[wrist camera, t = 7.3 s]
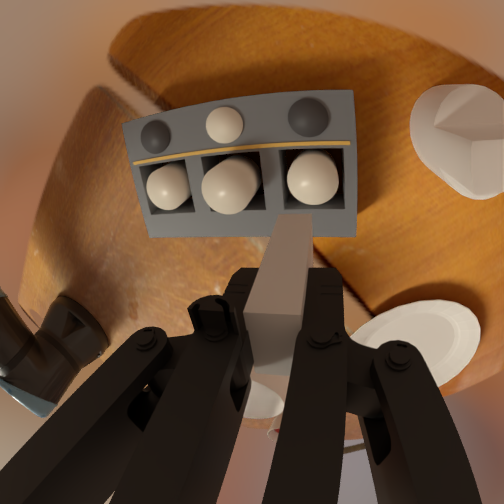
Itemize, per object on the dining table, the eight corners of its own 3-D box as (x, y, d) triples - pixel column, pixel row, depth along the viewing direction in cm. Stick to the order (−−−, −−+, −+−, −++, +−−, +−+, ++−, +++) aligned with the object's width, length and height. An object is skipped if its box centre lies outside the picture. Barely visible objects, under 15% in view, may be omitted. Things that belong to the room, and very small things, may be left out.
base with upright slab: (479, 84, 16) (560, 92, 6) (490, 173, 20) (561, 226, 10) (399, 87, 19) (458, 83, 9) (417, 182, 23) (470, 245, 13)
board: (167, 221, 31) (148, 238, 28) (144, 118, 26) (120, 124, 22) (352, 218, 26) (356, 238, 23) (348, 91, 20) (353, 89, 17)
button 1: (170, 197, 29) (152, 211, 26) (162, 161, 27) (142, 171, 24) (204, 194, 28) (188, 209, 25) (196, 156, 26) (179, 166, 23)
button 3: (294, 190, 26) (289, 205, 23) (290, 148, 24) (284, 156, 21) (337, 190, 25) (339, 204, 22) (335, 147, 23) (337, 155, 20)
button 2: (221, 199, 26) (206, 215, 23) (214, 157, 24) (197, 167, 21) (263, 197, 25) (254, 213, 22) (258, 153, 23) (247, 163, 20)
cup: (242, 282, 33) (206, 361, 23) (312, 309, 33) (301, 395, 23) (224, 328, 38) (193, 400, 28) (285, 351, 38) (268, 426, 28)
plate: (415, 396, 38) (416, 407, 37) (312, 368, 39) (310, 380, 37) (499, 316, 27) (505, 327, 25) (393, 262, 28) (397, 274, 26)
